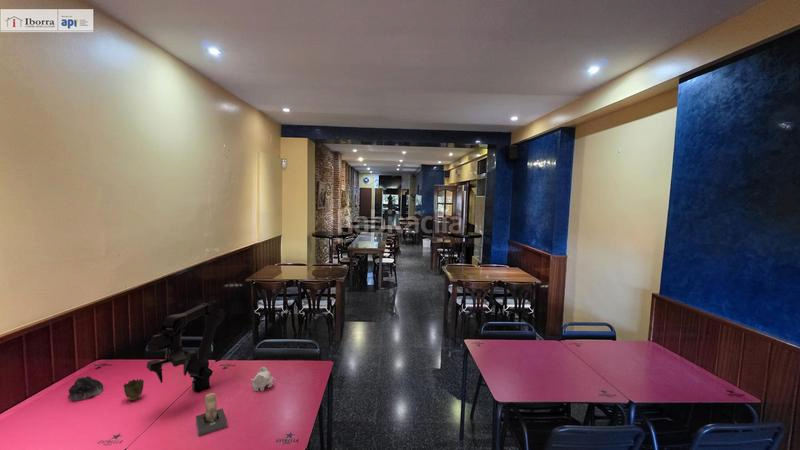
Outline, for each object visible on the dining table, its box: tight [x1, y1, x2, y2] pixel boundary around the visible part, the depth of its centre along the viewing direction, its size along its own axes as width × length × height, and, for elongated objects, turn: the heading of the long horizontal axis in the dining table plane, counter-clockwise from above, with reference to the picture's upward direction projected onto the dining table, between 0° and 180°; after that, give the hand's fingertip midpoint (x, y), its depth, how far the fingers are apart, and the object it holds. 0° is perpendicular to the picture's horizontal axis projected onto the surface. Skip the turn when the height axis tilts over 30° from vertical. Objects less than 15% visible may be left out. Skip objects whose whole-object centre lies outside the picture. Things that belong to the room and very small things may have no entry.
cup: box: [123, 378, 145, 402], centre depth 161 cm, size 8×7×8 cm
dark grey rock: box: [68, 375, 104, 402], centre depth 165 cm, size 13×14×10 cm
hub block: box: [195, 407, 228, 437], centre depth 144 cm, size 10×10×3 cm
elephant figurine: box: [250, 366, 276, 392], centre depth 173 cm, size 10×12×9 cm
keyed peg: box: [204, 392, 218, 423], centre depth 144 cm, size 5×4×12 cm
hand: (173, 378), depth 156 cm, fingers open, 9 cm apart
